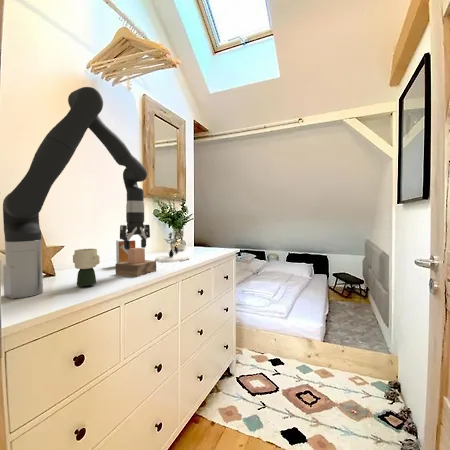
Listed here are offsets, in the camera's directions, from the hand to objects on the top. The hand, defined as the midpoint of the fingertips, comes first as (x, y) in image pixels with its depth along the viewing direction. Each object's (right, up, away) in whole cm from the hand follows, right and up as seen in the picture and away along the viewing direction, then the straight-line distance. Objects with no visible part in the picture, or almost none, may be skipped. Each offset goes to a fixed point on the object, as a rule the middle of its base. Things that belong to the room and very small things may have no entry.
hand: (135, 248), depth 115 cm
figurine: (+9, -10, +36) cm, 39 cm away
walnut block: (0, -11, 0) cm, 11 cm away
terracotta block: (0, -6, 0) cm, 6 cm away
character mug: (-10, -12, -21) cm, 26 cm away
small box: (-11, -11, +17) cm, 22 cm away
